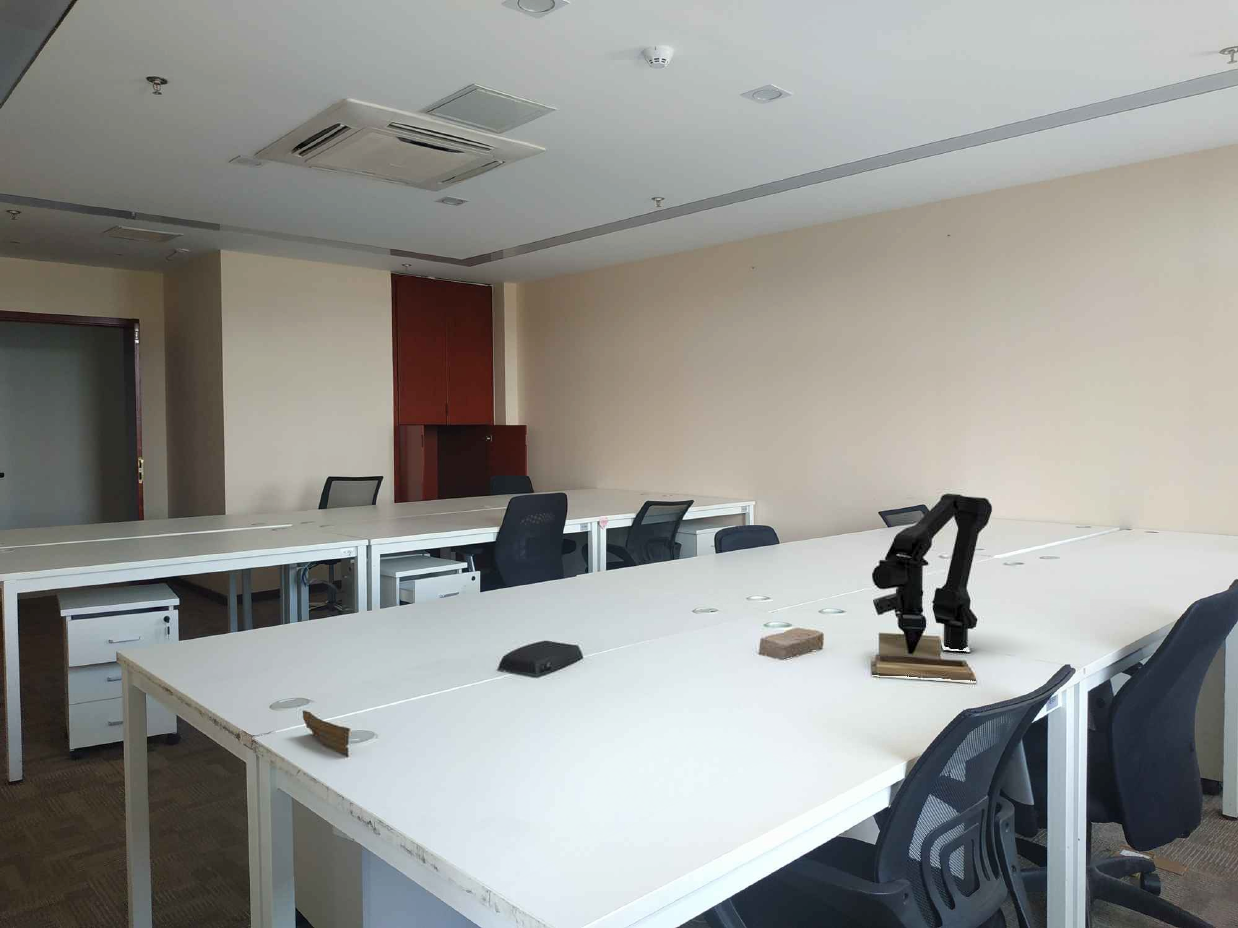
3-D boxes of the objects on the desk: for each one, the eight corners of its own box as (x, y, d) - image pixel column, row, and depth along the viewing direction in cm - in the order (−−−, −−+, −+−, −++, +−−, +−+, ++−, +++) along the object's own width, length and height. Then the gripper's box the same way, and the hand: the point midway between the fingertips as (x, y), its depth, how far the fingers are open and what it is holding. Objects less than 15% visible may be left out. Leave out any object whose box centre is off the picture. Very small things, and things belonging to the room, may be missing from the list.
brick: (784, 661, 208) (784, 642, 208) (757, 654, 214) (757, 636, 214) (825, 650, 219) (825, 631, 218) (798, 643, 225) (798, 626, 225)
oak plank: (878, 656, 211) (878, 632, 211) (938, 660, 208) (939, 636, 208) (879, 660, 208) (879, 636, 208) (940, 664, 205) (940, 639, 204)
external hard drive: (494, 672, 201) (494, 654, 200) (543, 653, 217) (542, 637, 217) (539, 680, 194) (539, 662, 194) (586, 660, 210) (586, 643, 210)
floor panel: (870, 664, 204) (871, 654, 203) (970, 671, 198) (970, 660, 198) (871, 676, 194) (872, 665, 194) (976, 684, 188) (976, 672, 188)
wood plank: (356, 755, 149) (355, 727, 149) (345, 758, 148) (344, 730, 147) (312, 733, 160) (311, 707, 159) (302, 736, 158) (301, 710, 158)
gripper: (874, 576, 218) (873, 637, 219) (876, 590, 200) (875, 656, 201) (920, 578, 215) (919, 640, 216) (926, 592, 197) (926, 659, 198)
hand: (909, 648), depth 208 cm, fingers open, 9 cm apart
